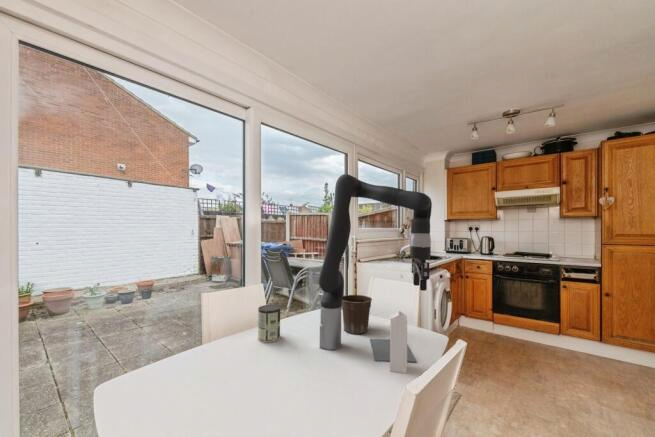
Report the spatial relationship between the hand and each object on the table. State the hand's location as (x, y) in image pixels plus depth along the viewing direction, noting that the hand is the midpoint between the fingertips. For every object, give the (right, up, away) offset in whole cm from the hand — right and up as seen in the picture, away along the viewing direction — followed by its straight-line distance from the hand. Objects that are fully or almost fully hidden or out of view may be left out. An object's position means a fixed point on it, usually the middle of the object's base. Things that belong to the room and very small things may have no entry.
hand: (419, 287), depth 108 cm
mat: (-8, -30, +12) cm, 33 cm away
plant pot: (-21, -31, +36) cm, 51 cm away
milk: (-9, -29, -3) cm, 31 cm away
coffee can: (-63, -30, +24) cm, 73 cm away
